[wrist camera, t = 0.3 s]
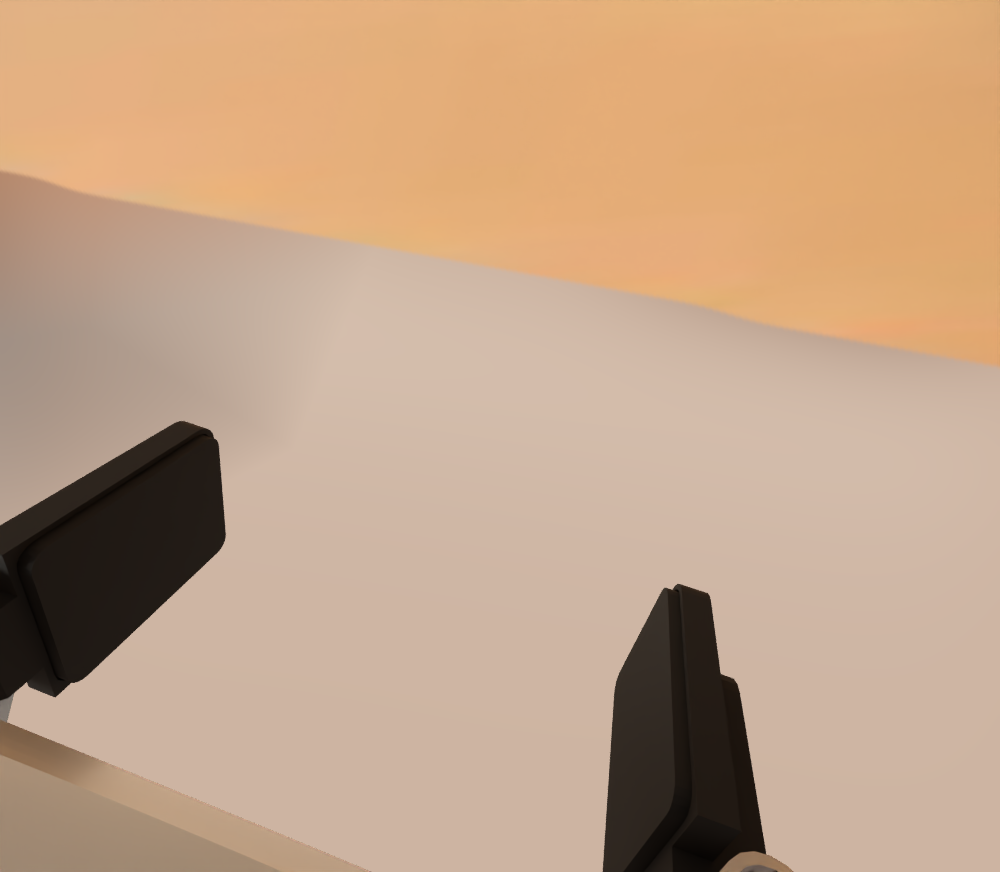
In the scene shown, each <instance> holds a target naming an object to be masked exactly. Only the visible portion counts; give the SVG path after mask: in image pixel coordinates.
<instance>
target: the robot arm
mask: <svg viewBox="0 0 1000 872" xmlns="http://www.w3.org/2000/svg"><path fill="white" fill-rule="evenodd" d="M219 456H220V455H219V445H218V442H217V440H216V439H214V437H213V433H212V432H211V431H210V430H208V429H206V428H203V427H200V426H197V425H194V424H191V423H188V422H185V421H179V422H176V423H174V424H172V425H171V426H169V427H167V428H166V429H164V430H162V431H160V432H159V433H157V434H155V435H154V436H152V437H150V438H149V439H147V440H145V441H143V442H142V443H140V444H138V445H137V446H135V447H134V448H131V449H130V450H128V451H126V452H125V453H123V454H121V455H120V456H118V457H116V458H114V459H113V460H111V461H109V462H108V463H106V464H104V465H102V466H101V467H99V468H97V469H96V470H94V471H92V472H91V473H89V474H87V475H86V476H84V477H82V478H80V479H79V480H77V481H75V482H74V483H72V484H70V485H68V486H67V487H65V488H63V489H62V490H60V491H58V492H57V493H55V494H53V495H51V496H50V497H48V498H46V499H45V500H43V501H41V502H40V503H38V504H36V505H34V506H33V507H31V508H29V509H28V510H26V511H24V512H22V513H21V514H19V515H18V516H16V517H14V518H12V519H10V520H9V521H7V522H5V523H4V524H2V525H0V872H370V871H368V870H365V869H363V868H361V867H359V866H356V865H354V864H351V863H349V862H347V861H344V860H342V859H339V858H337V857H335V856H332V855H330V854H327V853H325V852H323V851H320V850H318V849H315V848H313V847H311V846H308V845H306V844H303V843H301V842H299V841H296V840H294V839H291V838H289V837H286V836H284V835H281V834H279V833H277V832H274V831H272V830H269V829H267V828H265V827H262V826H260V825H257V824H255V823H252V822H250V821H248V820H245V819H243V818H240V817H238V816H235V815H233V814H231V813H228V812H226V811H223V810H221V809H218V808H216V807H214V806H211V805H209V804H206V803H204V802H201V801H199V800H197V799H194V798H192V797H189V796H187V795H184V794H182V793H180V792H177V791H175V790H172V789H170V788H167V787H164V786H162V785H160V784H158V783H155V782H152V781H150V780H148V779H145V778H143V777H140V776H138V775H135V774H133V773H131V772H128V771H126V770H123V769H121V768H118V767H116V766H113V765H111V764H108V763H106V762H103V761H101V760H98V759H96V758H94V757H91V756H89V755H86V754H84V753H81V752H79V751H76V750H74V749H71V748H69V747H66V746H64V745H62V744H59V743H56V742H54V741H52V740H49V739H47V738H44V737H42V736H39V735H37V734H34V733H32V732H29V731H27V730H24V729H22V728H19V727H17V726H15V725H12V724H10V723H7V720H8V716H9V712H10V708H11V704H12V700H13V695H14V693H15V692H16V691H17V690H18V689H19V688H20V687H22V686H23V685H24V684H25V683H26V682H27V683H28V686H29V687H30V688H33V689H36V690H38V691H40V692H43V693H45V694H48V695H50V696H53V697H56V696H57V695H59V694H60V693H61V692H62V691H63V690H64V689H65V688H66V687H67V686H68V685H69V684H70V683H75V682H78V681H80V680H82V679H84V678H85V677H86V676H87V675H88V674H89V673H91V672H92V671H93V669H95V668H96V667H97V666H98V665H99V664H100V663H101V662H102V661H103V660H104V659H105V658H106V657H107V656H109V655H110V654H111V653H112V652H113V651H114V650H115V649H116V648H117V647H118V646H119V645H120V644H121V643H122V642H123V641H124V640H125V639H127V638H128V637H129V636H130V635H131V634H132V633H133V632H134V631H135V630H136V629H137V628H138V627H139V626H140V625H141V624H142V623H143V622H145V621H146V620H147V619H148V618H149V617H150V616H151V615H152V614H153V613H154V612H155V611H156V610H157V609H158V608H159V607H160V606H161V605H162V604H164V602H166V601H167V600H168V599H169V598H170V597H171V596H172V595H173V594H174V593H175V592H176V591H177V590H178V589H179V588H180V587H182V586H183V584H185V583H186V582H187V581H188V580H189V579H190V578H191V577H192V576H193V575H194V574H195V573H196V572H197V571H199V570H200V569H201V568H202V567H203V566H204V565H205V564H206V563H207V562H208V561H209V560H210V559H211V558H212V557H213V556H214V555H215V554H217V553H218V551H219V550H220V549H221V547H222V546H223V544H224V541H225V535H226V533H225V520H224V507H223V494H222V482H221V470H220V457H219ZM603 872H793V871H792V870H791V869H790V868H789V867H788V866H786V865H785V864H783V863H782V862H780V861H778V860H777V859H775V858H773V857H772V856H769V855H766V850H765V844H764V838H763V832H762V826H761V819H760V813H759V807H758V802H757V795H756V789H755V783H754V777H753V771H752V765H751V759H750V752H749V746H748V740H747V735H746V728H745V722H744V716H743V709H742V703H741V698H740V692H739V689H738V685H737V683H736V682H735V680H734V679H732V678H730V677H727V676H724V675H722V674H721V673H720V667H719V658H718V651H717V643H716V636H715V628H714V621H713V614H712V607H711V599H710V596H709V594H708V593H705V592H702V591H699V590H696V589H693V588H690V587H687V586H684V585H681V584H677V585H676V586H675V587H674V588H673V590H671V589H668V588H664V589H663V590H662V592H661V594H660V596H659V598H658V599H657V601H656V604H655V605H654V607H653V609H652V611H651V613H650V615H649V617H648V619H647V621H646V623H645V625H644V627H643V628H642V630H641V632H640V634H639V636H638V638H637V640H636V642H635V644H634V646H633V648H632V650H631V652H630V653H629V655H628V657H627V659H626V661H625V663H624V665H623V667H622V669H621V671H620V673H619V676H618V678H617V681H616V686H615V693H614V707H613V722H612V738H611V754H610V769H609V785H608V799H607V814H606V831H605V846H604V861H603Z"/></svg>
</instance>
